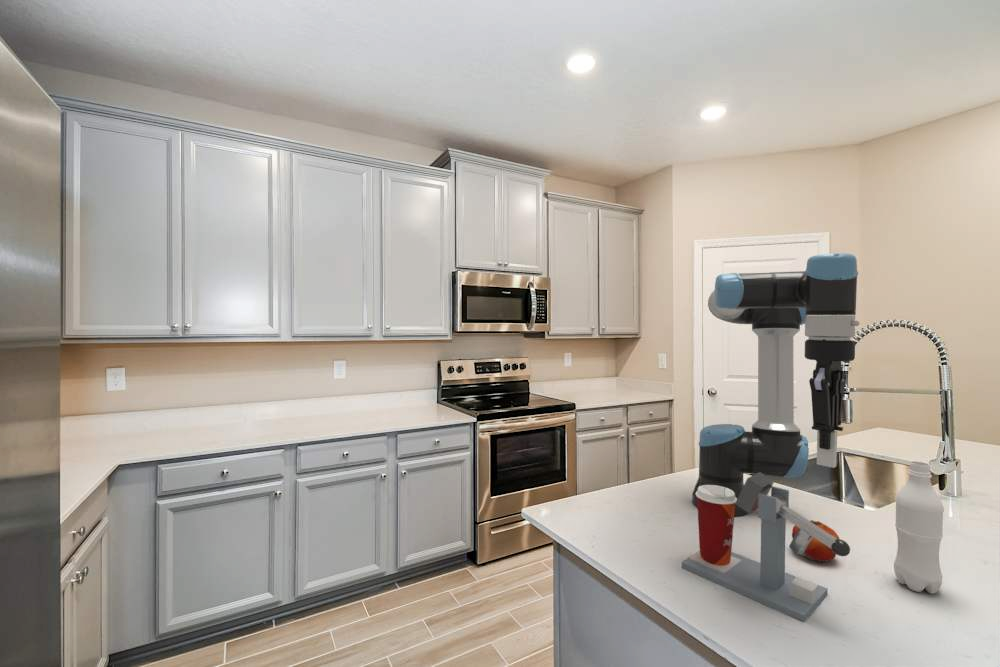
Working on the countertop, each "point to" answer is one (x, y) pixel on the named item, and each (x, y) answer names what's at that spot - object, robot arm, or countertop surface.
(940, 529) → the water bottle
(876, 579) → the countertop surface
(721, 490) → the coffee cup
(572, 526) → the countertop surface
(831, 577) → the countertop surface
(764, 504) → the frame
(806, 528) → the lever
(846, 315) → the robot arm
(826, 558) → the tomato
